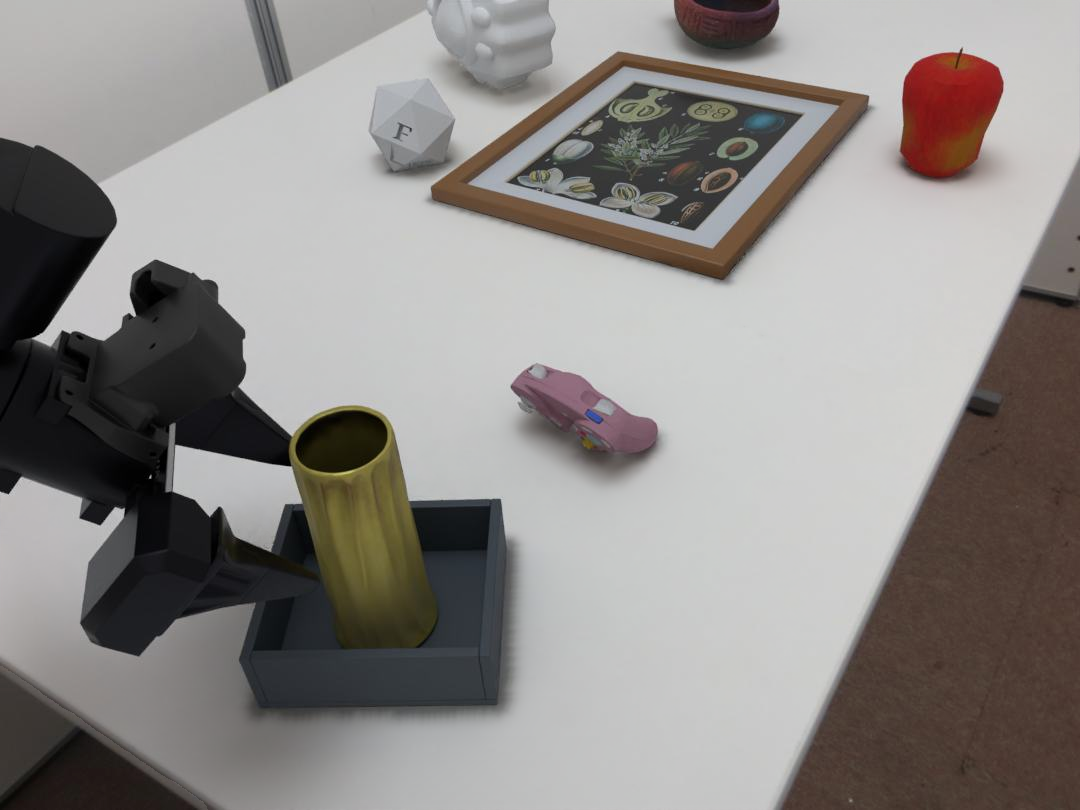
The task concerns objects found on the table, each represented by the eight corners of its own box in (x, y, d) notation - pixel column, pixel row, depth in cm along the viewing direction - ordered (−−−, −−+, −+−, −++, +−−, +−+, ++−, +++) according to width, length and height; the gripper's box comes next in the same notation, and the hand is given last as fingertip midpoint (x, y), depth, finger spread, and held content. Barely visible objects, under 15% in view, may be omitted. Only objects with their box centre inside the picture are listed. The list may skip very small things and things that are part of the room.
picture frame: (429, 186, 95) (617, 50, 119) (431, 199, 96) (617, 62, 120) (723, 265, 82) (870, 94, 106) (722, 280, 83) (867, 107, 106)
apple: (996, 161, 96) (1028, 41, 88) (958, 195, 91) (989, 72, 84) (913, 138, 100) (937, 22, 93) (873, 170, 96) (895, 50, 88)
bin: (259, 708, 54) (238, 660, 51) (300, 552, 62) (284, 503, 59) (497, 704, 53) (490, 656, 50) (506, 547, 62) (501, 498, 59)
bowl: (787, 30, 125) (794, -36, 120) (762, 68, 116) (768, -1, 111) (666, 19, 130) (668, -45, 125) (634, 55, 121) (634, -12, 116)
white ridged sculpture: (493, 48, 126) (481, -87, 115) (572, 92, 114) (566, -54, 104) (417, 70, 122) (397, -68, 111) (491, 118, 110) (477, -31, 99)
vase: (417, 563, 60) (379, 384, 51) (454, 635, 56) (421, 455, 47) (322, 601, 59) (265, 423, 49) (353, 678, 54) (297, 500, 45)
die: (357, 167, 104) (350, 119, 94) (392, 99, 106) (388, 45, 97) (431, 199, 104) (432, 154, 94) (464, 129, 106) (468, 79, 97)
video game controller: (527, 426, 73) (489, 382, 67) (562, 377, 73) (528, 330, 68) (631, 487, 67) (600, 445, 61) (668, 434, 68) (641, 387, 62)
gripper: (63, 407, 32) (432, 555, 41) (111, 160, 46) (380, 310, 55) (-81, 609, 36) (284, 704, 45) (4, 325, 50) (270, 441, 59)
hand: (309, 518), depth 51 cm, fingers open, 9 cm apart
